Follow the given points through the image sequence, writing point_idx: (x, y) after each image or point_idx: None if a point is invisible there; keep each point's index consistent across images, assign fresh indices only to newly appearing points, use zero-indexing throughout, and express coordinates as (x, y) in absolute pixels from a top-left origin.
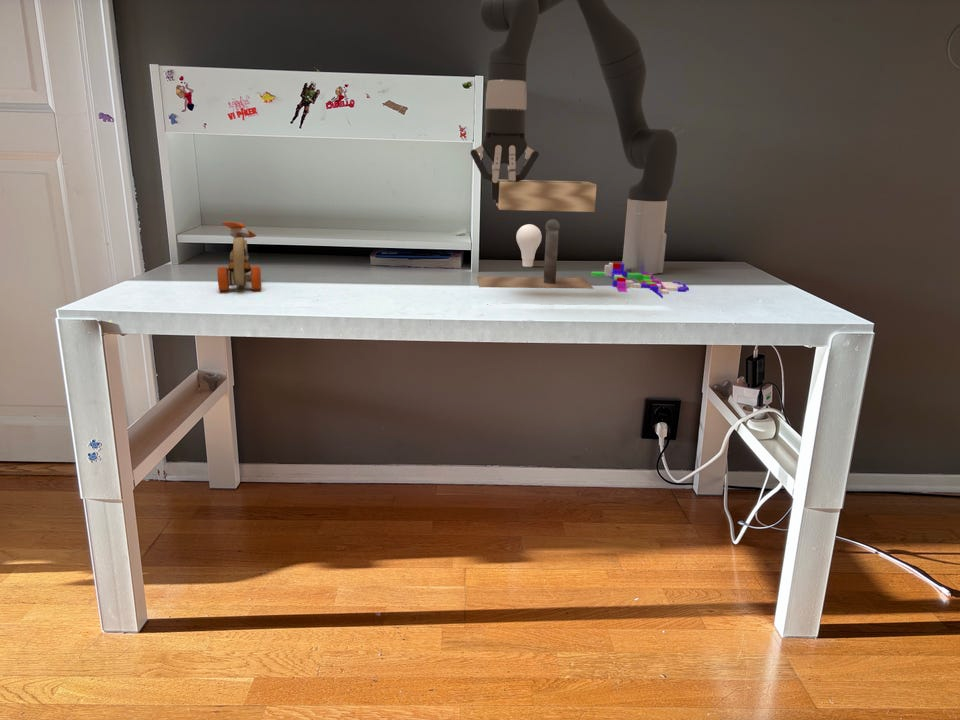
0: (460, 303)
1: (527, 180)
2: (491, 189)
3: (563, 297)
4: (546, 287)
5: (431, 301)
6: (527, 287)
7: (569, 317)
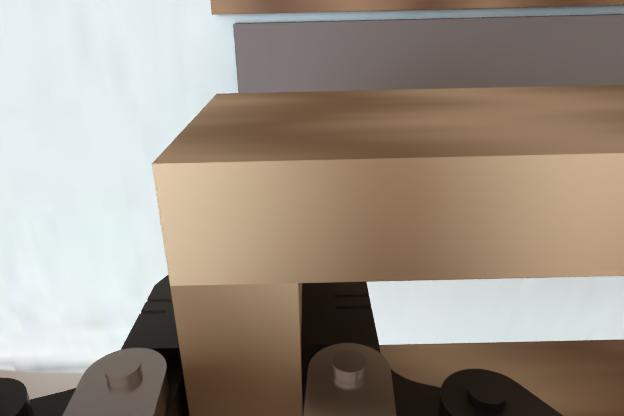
0: None
1: (603, 213)
2: (135, 328)
3: None
4: (486, 3)
5: (69, 180)
6: (407, 9)
7: (467, 330)
